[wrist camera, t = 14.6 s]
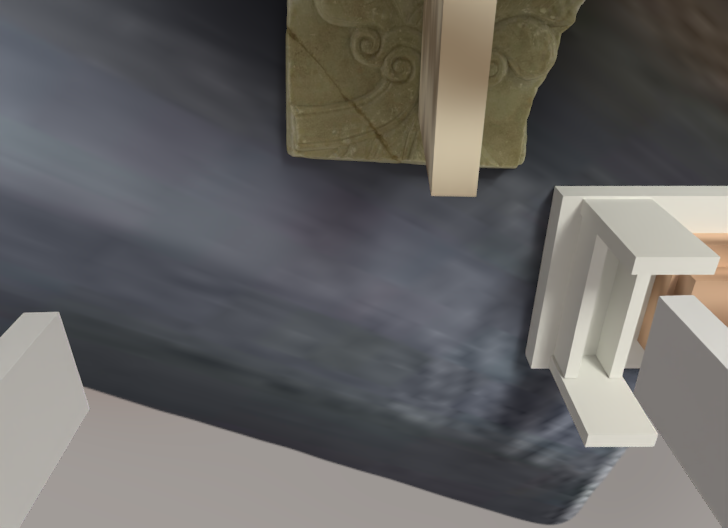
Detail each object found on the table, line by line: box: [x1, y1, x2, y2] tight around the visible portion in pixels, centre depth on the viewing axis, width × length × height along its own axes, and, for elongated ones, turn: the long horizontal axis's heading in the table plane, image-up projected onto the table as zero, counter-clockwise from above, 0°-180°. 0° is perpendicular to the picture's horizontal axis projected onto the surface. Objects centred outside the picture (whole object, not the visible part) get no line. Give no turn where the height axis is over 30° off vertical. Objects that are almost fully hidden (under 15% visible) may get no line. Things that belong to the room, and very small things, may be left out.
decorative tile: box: [286, 0, 585, 169], centre depth 36 cm, size 19×20×4 cm
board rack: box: [525, 186, 728, 447], centre depth 42 cm, size 16×14×11 cm
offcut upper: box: [673, 267, 728, 327], centre depth 43 cm, size 8×4×2 cm, turn 0°
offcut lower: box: [637, 233, 728, 351], centre depth 44 cm, size 10×5×2 cm, turn 0°
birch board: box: [418, 0, 497, 197], centre depth 28 cm, size 12×2×14 cm, turn 0°
